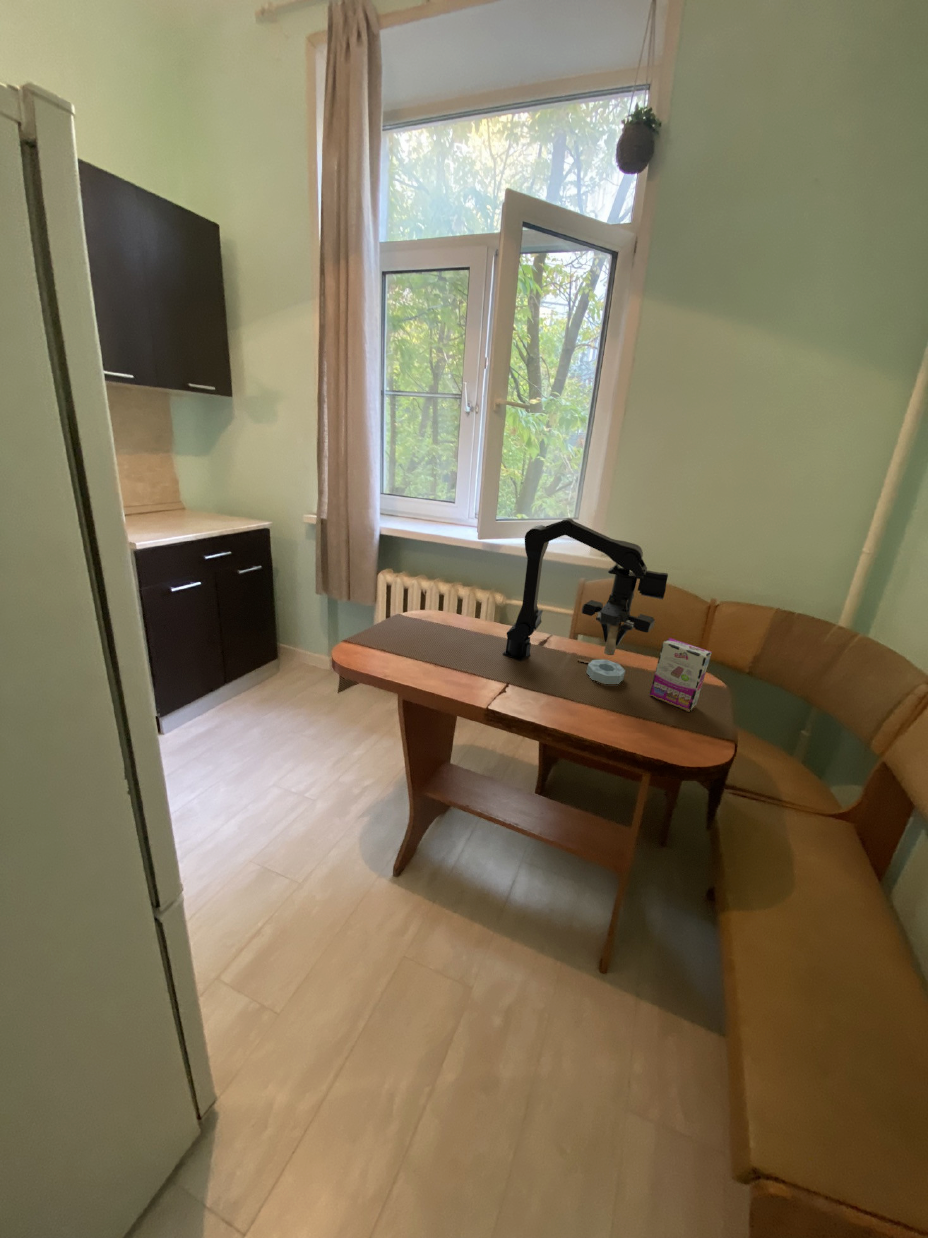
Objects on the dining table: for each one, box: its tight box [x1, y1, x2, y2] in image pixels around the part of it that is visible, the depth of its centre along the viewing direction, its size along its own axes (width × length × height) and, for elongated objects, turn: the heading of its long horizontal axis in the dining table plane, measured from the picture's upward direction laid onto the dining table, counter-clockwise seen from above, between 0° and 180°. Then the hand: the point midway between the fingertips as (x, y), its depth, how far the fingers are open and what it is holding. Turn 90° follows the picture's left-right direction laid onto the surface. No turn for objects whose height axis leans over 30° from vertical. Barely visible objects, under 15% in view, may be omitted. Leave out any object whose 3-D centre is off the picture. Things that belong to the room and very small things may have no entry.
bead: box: [585, 659, 626, 685], centre depth 139 cm, size 10×10×3 cm
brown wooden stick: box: [577, 658, 591, 665], centre depth 146 cm, size 12×1×1 cm, turn 67°
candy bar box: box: [649, 637, 712, 711], centre depth 127 cm, size 11×5×16 cm, turn 47°
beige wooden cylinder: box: [603, 622, 622, 656], centre depth 135 cm, size 3×3×10 cm
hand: (611, 643), depth 136 cm, fingers closed on beige wooden cylinder, 3 cm apart
